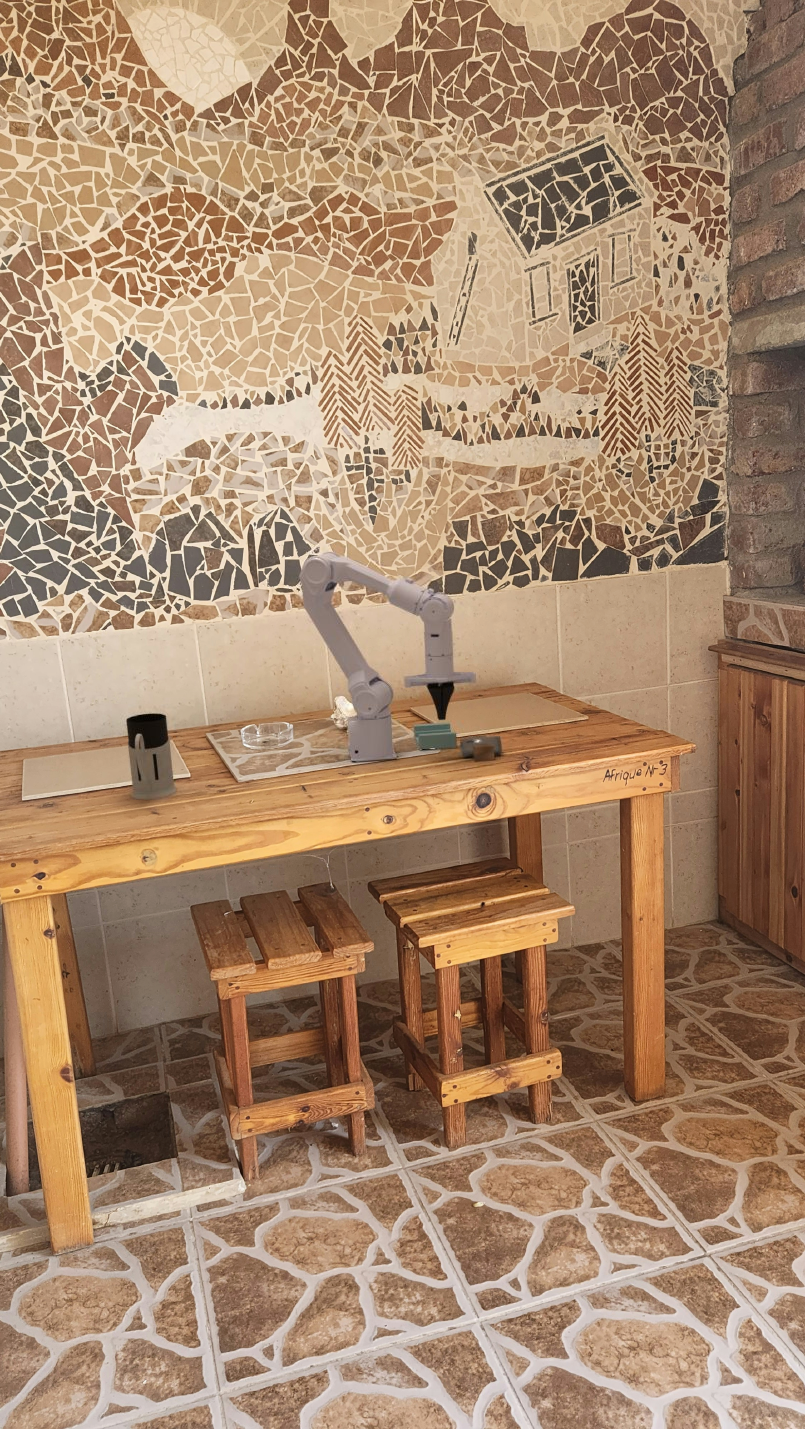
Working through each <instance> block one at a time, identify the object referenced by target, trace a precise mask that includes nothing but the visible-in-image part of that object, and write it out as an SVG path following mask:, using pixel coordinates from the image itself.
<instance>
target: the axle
mask: <svg viewBox="0 0 805 1429" xmlns="http://www.w3.org/2000/svg"><path fill="white" fill-rule="evenodd" d="M459 741H460V743H459V744H460V745H459V746H460V747H459V748H460V756H461V757H462V759H463V758H473V745H479V744H493V745H494V756H501V755H502V750H503V749H502V739H501V736H500V735H493V736H487V737H476V738H468V737H465V738H464V737H463V738H460V740H459Z"/></svg>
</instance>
